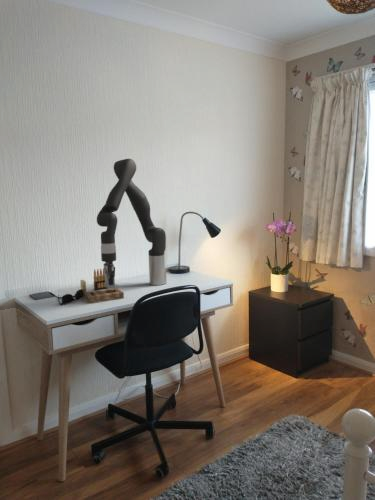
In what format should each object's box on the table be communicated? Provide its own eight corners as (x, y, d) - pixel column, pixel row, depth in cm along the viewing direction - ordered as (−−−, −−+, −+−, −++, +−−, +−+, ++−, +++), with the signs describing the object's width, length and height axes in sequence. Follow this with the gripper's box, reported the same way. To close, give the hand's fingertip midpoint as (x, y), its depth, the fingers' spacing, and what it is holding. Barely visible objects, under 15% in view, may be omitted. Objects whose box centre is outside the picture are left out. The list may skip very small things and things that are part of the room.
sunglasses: (66, 294, 220) (65, 285, 219) (86, 297, 214) (86, 288, 213) (42, 302, 205) (41, 293, 205) (63, 306, 199) (62, 296, 198)
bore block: (117, 293, 220) (116, 287, 219) (123, 298, 209) (123, 292, 209) (83, 297, 212) (83, 292, 212) (88, 303, 201) (88, 297, 201)
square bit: (112, 286, 214) (112, 271, 213) (114, 287, 211) (114, 272, 209) (105, 287, 212) (104, 272, 211) (107, 288, 209) (106, 273, 208)
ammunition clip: (94, 290, 226) (93, 269, 224) (93, 290, 228) (92, 269, 226) (112, 287, 232) (111, 267, 230) (111, 287, 233) (110, 266, 231)
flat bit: (84, 294, 219) (83, 279, 218) (86, 296, 215) (85, 281, 214) (81, 294, 219) (80, 280, 217) (83, 296, 215) (82, 281, 213)
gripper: (119, 252, 204) (121, 286, 207) (111, 249, 217) (113, 280, 219) (104, 254, 201) (106, 288, 203) (97, 250, 213) (99, 282, 216)
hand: (110, 284), depth 211 cm, fingers closed on square bit, 4 cm apart
